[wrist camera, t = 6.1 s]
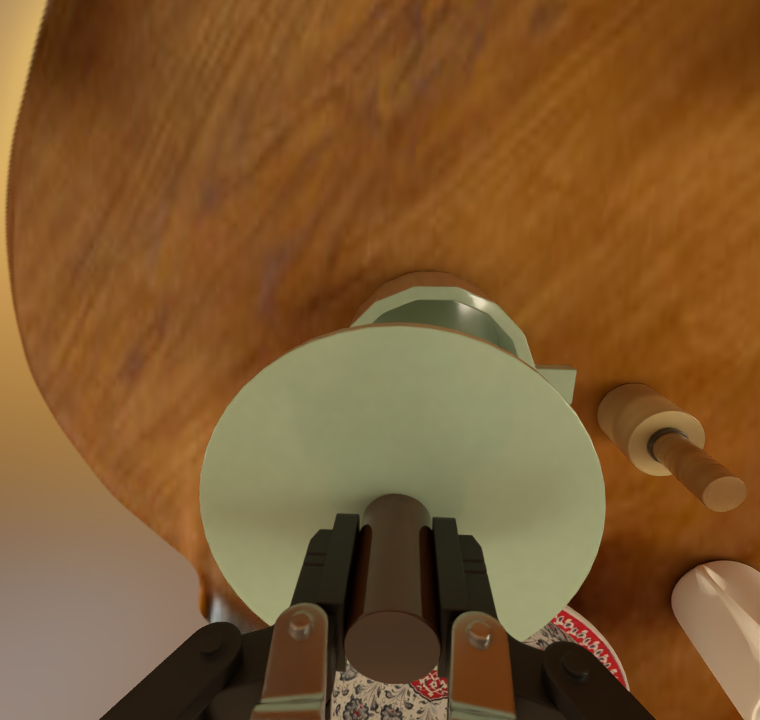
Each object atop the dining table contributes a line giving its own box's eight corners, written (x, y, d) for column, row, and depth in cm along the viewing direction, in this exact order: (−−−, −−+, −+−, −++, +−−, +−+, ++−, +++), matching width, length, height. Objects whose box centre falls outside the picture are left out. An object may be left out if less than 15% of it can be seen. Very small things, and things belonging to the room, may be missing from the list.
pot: (313, 269, 34) (284, 284, 26) (549, 272, 33) (594, 288, 25) (319, 418, 38) (295, 470, 30) (530, 424, 37) (564, 481, 29)
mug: (722, 515, 39) (835, 620, 28) (780, 603, 41) (903, 729, 31) (633, 559, 41) (708, 673, 30) (692, 641, 43) (781, 771, 33)
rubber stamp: (602, 382, 36) (688, 453, 25) (667, 383, 35) (784, 456, 24) (592, 439, 37) (669, 529, 26) (655, 441, 37) (759, 533, 26)
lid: (190, 315, 14) (53, 373, 9) (621, 319, 14) (768, 386, 8) (233, 635, 18) (159, 810, 13) (565, 653, 18) (637, 848, 12)
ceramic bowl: (632, 686, 45) (678, 780, 38) (385, 757, 51) (381, 851, 43) (524, 464, 38) (553, 524, 31) (251, 575, 44) (218, 649, 36)
